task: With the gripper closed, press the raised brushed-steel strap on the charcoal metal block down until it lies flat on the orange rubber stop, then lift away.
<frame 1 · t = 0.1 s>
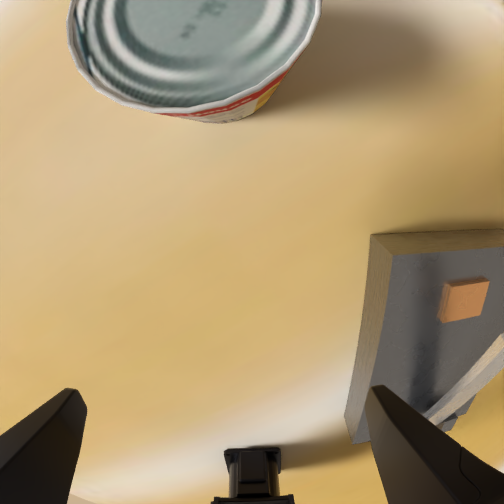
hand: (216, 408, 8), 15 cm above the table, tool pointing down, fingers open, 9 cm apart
steel strap: (462, 392, 19), point 8 cm above the table, hinge at 20.0°
canned food: (219, 66, 18), on the table
charcoal block: (425, 333, 26), on the table
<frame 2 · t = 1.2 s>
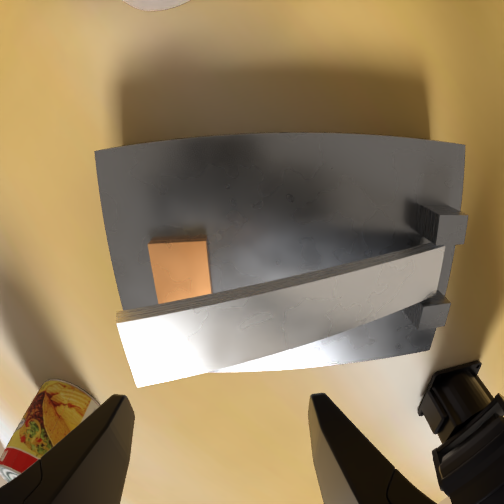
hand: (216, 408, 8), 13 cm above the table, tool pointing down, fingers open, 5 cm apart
steel strap: (320, 306, 13), point 8 cm above the table, hinge at 20.0°
canned food: (73, 404, 27), on the table
charcoal block: (287, 243, 20), on the table
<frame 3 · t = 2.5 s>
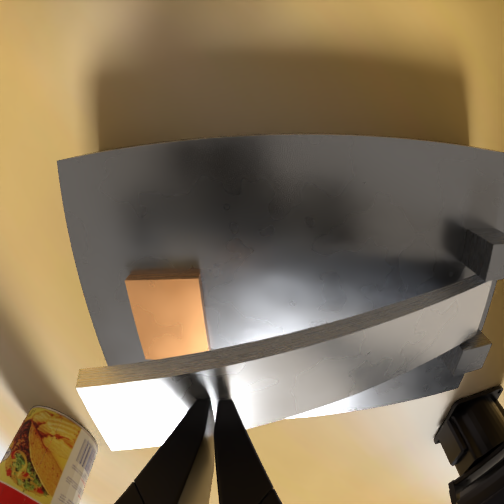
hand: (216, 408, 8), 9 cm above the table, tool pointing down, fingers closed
steel strap: (341, 362, 10), point 7 cm above the table, hinge at 16.7°, touching gripper
canned food: (63, 430, 23), on the table
charcoal block: (301, 271, 17), on the table
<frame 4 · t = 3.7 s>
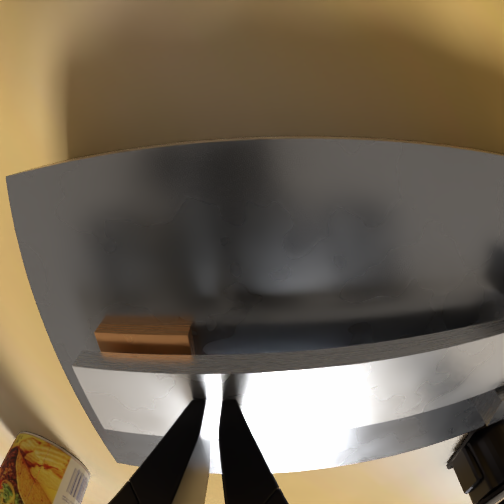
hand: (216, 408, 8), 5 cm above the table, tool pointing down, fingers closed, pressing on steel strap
steel strap: (345, 391, 9), point 5 cm above the table, hinge at 0.7°, touching gripper
canned food: (53, 456, 20), on the table
charcoal block: (317, 306, 13), on the table
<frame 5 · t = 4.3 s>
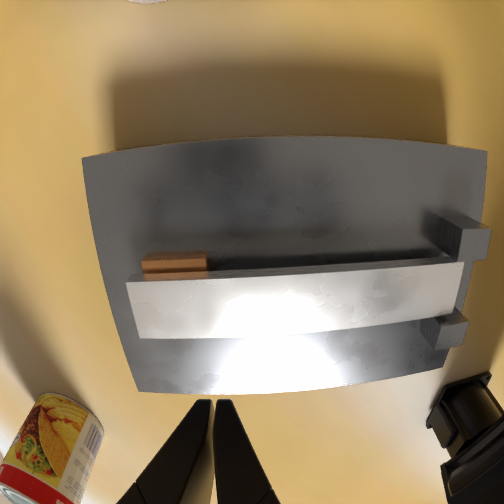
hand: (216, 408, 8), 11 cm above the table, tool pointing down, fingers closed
steel strap: (309, 300, 14), point 5 cm above the table, hinge at 0.7°
canned food: (70, 417, 25), on the table
charcoal block: (294, 256, 19), on the table
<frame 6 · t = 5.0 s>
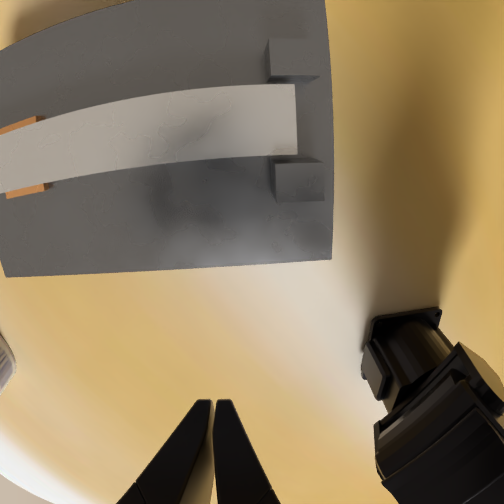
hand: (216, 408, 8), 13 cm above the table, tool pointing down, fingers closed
steel strap: (109, 136, 12), point 5 cm above the table, hinge at 0.7°
charcoal block: (142, 132, 17), on the table
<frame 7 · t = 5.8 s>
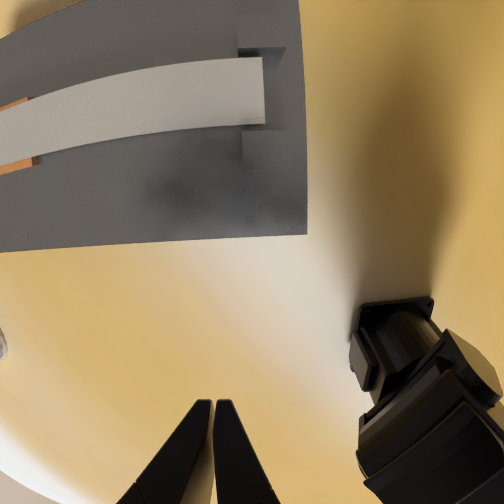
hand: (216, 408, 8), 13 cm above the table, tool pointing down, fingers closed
steel strap: (90, 112, 12), point 5 cm above the table, hinge at 0.7°
charcoal block: (127, 115, 17), on the table
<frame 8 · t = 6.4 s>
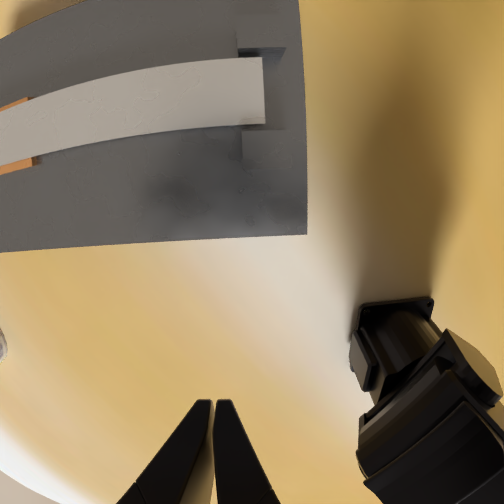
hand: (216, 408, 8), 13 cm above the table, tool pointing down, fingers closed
steel strap: (90, 112, 12), point 5 cm above the table, hinge at 0.7°
charcoal block: (127, 115, 17), on the table
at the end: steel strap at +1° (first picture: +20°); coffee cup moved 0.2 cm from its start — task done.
